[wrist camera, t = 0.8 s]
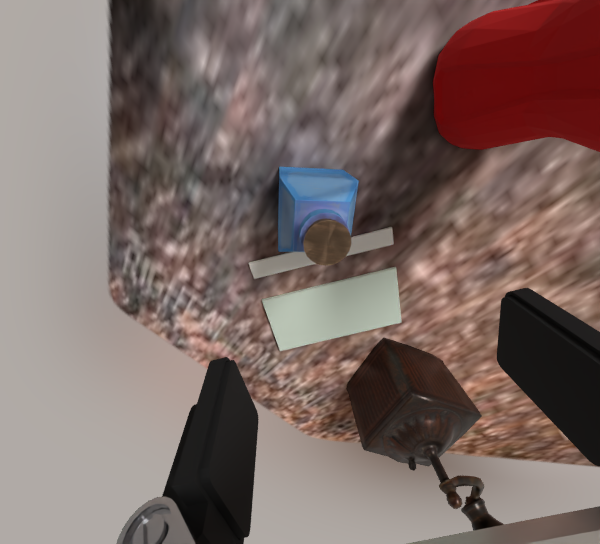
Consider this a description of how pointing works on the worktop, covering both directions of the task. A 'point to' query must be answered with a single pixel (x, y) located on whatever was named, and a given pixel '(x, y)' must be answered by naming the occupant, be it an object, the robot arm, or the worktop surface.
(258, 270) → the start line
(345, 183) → the perfume bottle
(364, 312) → the mat
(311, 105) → the worktop surface
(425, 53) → the worktop surface
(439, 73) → the water bottle
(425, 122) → the worktop surface
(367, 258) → the worktop surface
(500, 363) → the robot arm
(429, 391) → the dark brown coffee grinder
